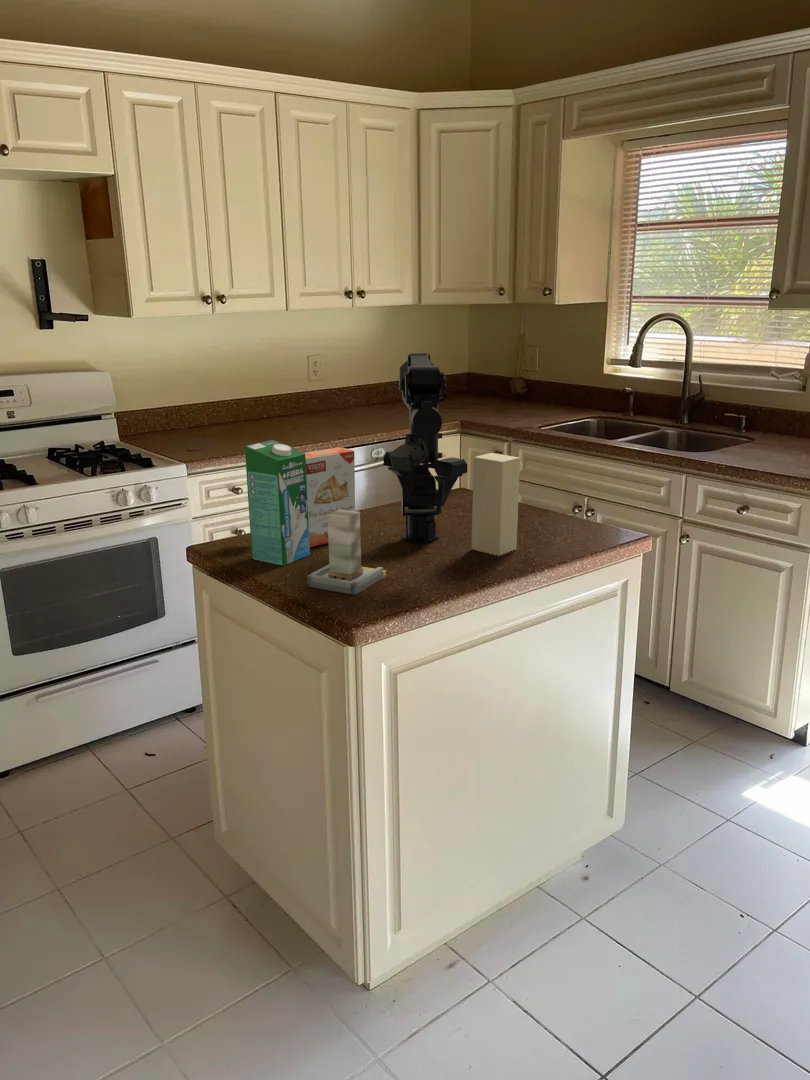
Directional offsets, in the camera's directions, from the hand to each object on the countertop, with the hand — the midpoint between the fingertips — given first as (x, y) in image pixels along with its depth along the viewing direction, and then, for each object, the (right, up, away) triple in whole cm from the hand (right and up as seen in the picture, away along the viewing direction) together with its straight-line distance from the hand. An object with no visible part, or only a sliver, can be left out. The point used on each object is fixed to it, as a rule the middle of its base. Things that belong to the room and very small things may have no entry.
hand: (424, 503), depth 179 cm
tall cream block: (+16, -10, +12) cm, 22 cm away
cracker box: (-23, -8, +20) cm, 31 cm away
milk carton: (-31, -12, +8) cm, 34 cm away
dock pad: (-16, -16, -8) cm, 24 cm away
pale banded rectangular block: (-16, -15, -8) cm, 23 cm away
